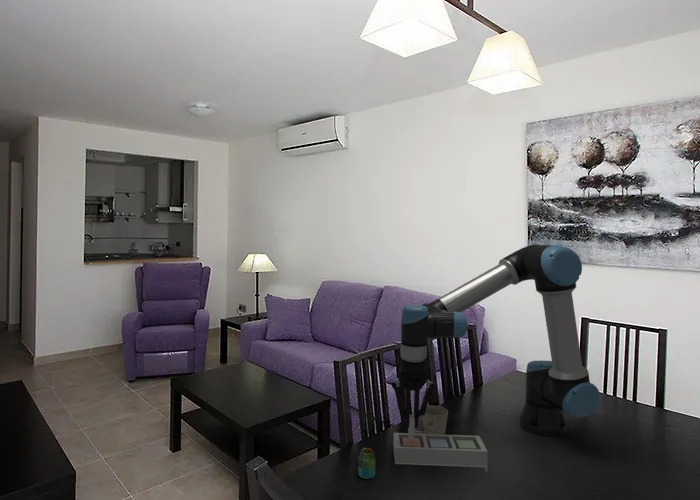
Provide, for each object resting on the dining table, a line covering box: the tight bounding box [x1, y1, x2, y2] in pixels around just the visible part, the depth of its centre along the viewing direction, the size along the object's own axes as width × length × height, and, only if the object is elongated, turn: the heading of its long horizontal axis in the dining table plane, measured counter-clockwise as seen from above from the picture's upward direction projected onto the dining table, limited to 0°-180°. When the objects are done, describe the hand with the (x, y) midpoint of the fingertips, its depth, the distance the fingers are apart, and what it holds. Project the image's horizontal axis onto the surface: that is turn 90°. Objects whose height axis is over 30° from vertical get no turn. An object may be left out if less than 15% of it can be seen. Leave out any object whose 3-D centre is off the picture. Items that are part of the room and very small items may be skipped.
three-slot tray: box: [392, 432, 489, 473], centre depth 138 cm, size 26×11×6 cm, turn 88°
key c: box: [402, 438, 421, 447], centre depth 138 cm, size 5×5×2 cm
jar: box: [357, 447, 376, 480], centre depth 127 cm, size 5×5×8 cm
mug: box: [414, 405, 449, 435], centre depth 151 cm, size 8×13×10 cm, turn 78°
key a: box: [456, 440, 477, 449], centre depth 137 cm, size 5×5×2 cm
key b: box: [429, 439, 449, 448], centre depth 138 cm, size 5×5×2 cm
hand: (411, 437), depth 138 cm, fingers closed
